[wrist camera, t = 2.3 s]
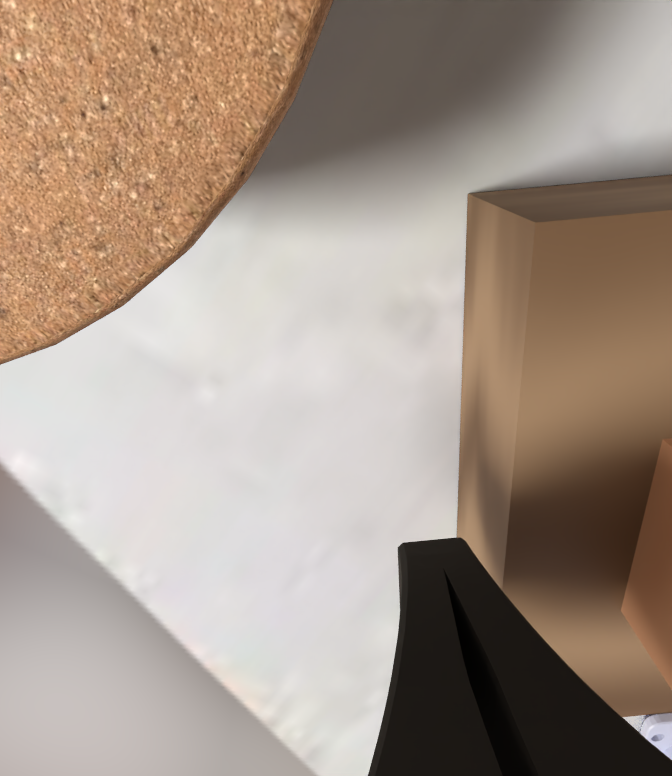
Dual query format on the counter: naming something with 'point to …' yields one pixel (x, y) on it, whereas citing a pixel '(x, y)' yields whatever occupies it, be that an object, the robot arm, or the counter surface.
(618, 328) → the dark wood platform
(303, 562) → the counter surface
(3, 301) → the lidded jar
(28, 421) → the counter surface
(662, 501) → the tile
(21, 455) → the counter surface
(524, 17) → the counter surface
